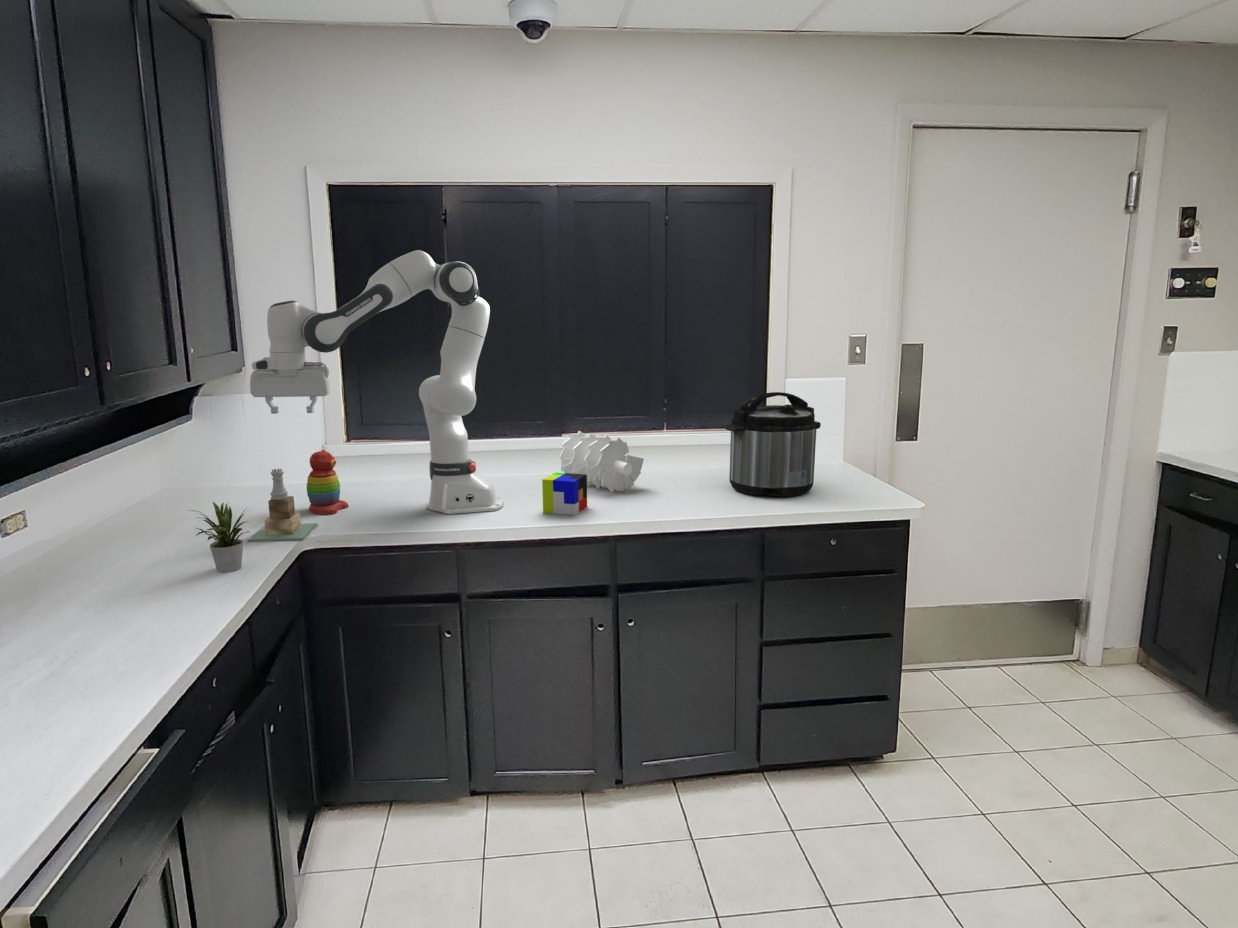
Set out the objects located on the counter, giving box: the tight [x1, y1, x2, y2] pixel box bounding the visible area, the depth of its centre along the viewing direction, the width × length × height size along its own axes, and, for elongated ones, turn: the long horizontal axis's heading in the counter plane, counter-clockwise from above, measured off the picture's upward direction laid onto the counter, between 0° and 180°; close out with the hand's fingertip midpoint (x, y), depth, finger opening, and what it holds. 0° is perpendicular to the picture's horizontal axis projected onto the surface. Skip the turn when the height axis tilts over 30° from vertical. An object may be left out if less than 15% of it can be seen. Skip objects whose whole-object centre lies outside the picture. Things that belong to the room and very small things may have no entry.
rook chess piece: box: [270, 468, 289, 501], centre depth 217 cm, size 4×4×8 cm
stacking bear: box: [306, 449, 349, 516], centre depth 242 cm, size 11×10×18 cm
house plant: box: [187, 501, 252, 573], centre depth 191 cm, size 14×14×16 cm
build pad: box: [247, 522, 319, 543], centre depth 220 cm, size 14×14×1 cm
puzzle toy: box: [541, 471, 588, 516], centre depth 242 cm, size 10×10×10 cm
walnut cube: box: [267, 495, 296, 519], centre depth 218 cm, size 5×5×5 cm
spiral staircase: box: [558, 430, 645, 493], centre depth 268 cm, size 18×18×25 cm
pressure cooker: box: [724, 391, 822, 497], centre depth 264 cm, size 30×28×32 cm
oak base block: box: [264, 512, 302, 535], centre depth 219 cm, size 7×7×4 cm
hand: (292, 413), depth 223 cm, fingers open, 8 cm apart
